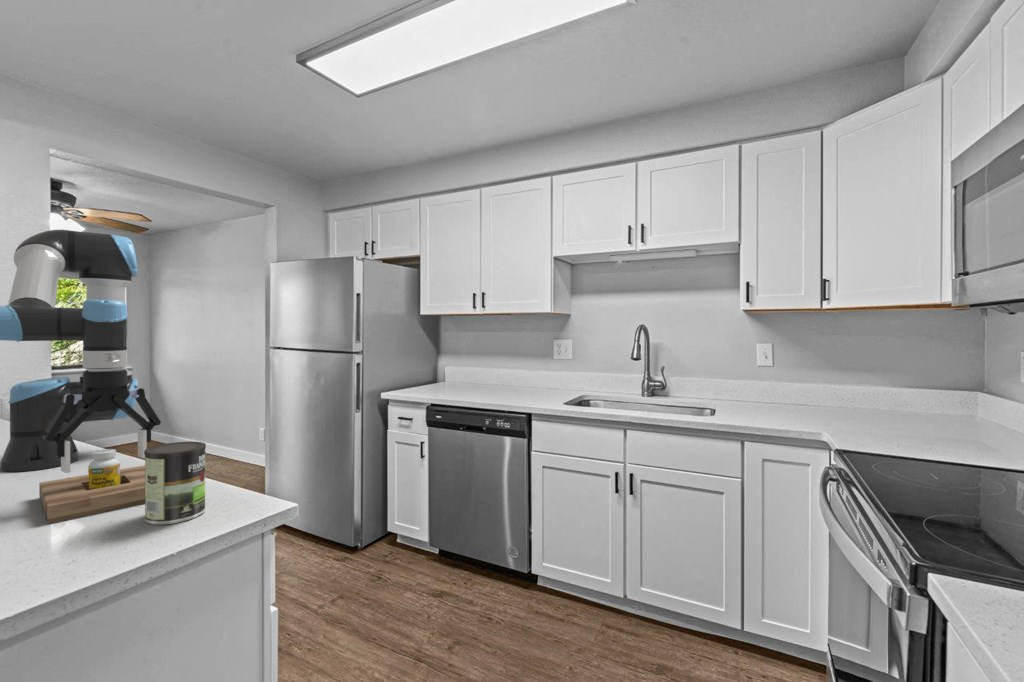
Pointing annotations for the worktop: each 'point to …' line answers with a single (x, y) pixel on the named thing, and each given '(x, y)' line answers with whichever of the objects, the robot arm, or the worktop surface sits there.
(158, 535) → the worktop surface
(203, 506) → the coffee can
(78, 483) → the socket block
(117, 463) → the supplement bottle
